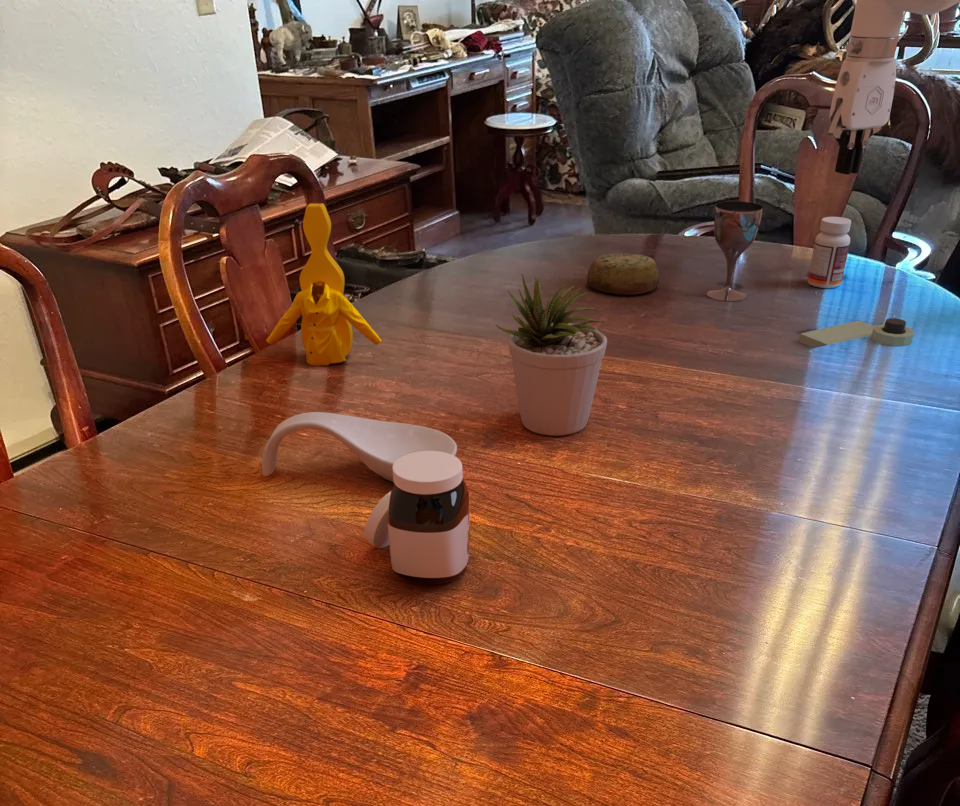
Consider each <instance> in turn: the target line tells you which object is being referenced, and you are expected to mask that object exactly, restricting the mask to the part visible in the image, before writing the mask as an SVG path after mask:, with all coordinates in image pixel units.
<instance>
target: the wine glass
mask: <svg viewBox="0 0 960 806" xmlns="http://www.w3.org/2000/svg"><path fill="white" fill-rule="evenodd" d="M763 209H764V208H763V205H761V204H758V203H754V202H749V201H738V200H737V201H736V200H735V201H734V200H733V201H723V202H722V201H721V202H718V203H717V204H715V209H714V217H713V218H714V219H713V232H714V239H715V242H716V244H717V245H718V248H720V250H721V252H722V254H723V255H724V257H725V259H726V264H727V266H726V269H727V270H726V280H725V281H726V282H725V286H724V287H723V288H714V289H711V290H709V291H707V292H706V296H707V297H708V298H710V299H713V300H717V301H723V302H737V301H742V300H744V299H745V300H746V298H747V294H746V293H745V292H743V291H740V290H738V289H732V288H731V284H732V283H731V282H732V276H733V273H734V268H735V265H736V262H737V261H738V259H739V257H741V255H742V254H743V253H744V252H746V250H747V249H748V248H749V247H751V246H752V244H753V243H754V241H755V239H756V237H757V234H758V232H759V229H760V225H761V220H762V216H763Z"/></svg>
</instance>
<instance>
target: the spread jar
mask: <svg viewBox="0 0 960 806" xmlns="http://www.w3.org/2000/svg"><path fill="white" fill-rule="evenodd" d="M392 469H393V482H392V483H393V485H392V487H391V490H390V491H389V492H388V493H386V494H385V495H384V496H383V497H382V498H381V499H380V500H379V501H378V502H377V504H376V505H375V506H374V508H373V509H372V511H371V513H370V514H369V516H368V518H367V520H366V524H365V526H364V530H363V531H364V533H363V535H364V538H365V541H367V542H368V543H369V544H371V545H372V546H374V547H375V548H377V549H384V548H386V547H388V546H389V555H390V556H389V557H390V564H391V568H392V570H393V572H394V574H396V576H398V577H399V578H401V579H404V580H406V581H408V582H410V583H412V584H413V583H414V584H417V585H422V586H439V585H445V584H448V583H450V582H453V581H455V580H457V579H459V578H461V577H462V575H463V574H464V573H465V572H466V569H467V567H468V565H469V564H468V563H469V557H470V545H471V521H470V519H471V516H470V515H471V514H470V493H469V488H468V485H467V483H466V481H465V479H464V478H463V462H462V461H461V459H460V458H459V457H457V456H456V455H455V456H453V455H451V454H448V453H445V452H439V451H420V452H414V453H410V454H407V455H404V456H402V457H400V458H399V459H397V460H396V461H395V462H394V464H393V466H392Z"/></svg>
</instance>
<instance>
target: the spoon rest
mask: <svg viewBox="0 0 960 806" xmlns="http://www.w3.org/2000/svg"><path fill="white" fill-rule="evenodd" d="M303 430H318V431H321V432H324V433H327V434H328V435H330V436H332V437H334V438H335V439H337V441H339V442H340V443H342V445H344V447H346V448H347V449H348V450H350V451H351V453H353V454H354V456H355V457H357V458H358V459H359V460H360V461H361V462H362V463H363V464H364V465H365V467H367V468H368V469H369V470H371V471H372V472H373V473H375V474H377V475H378V476H380V477H382V478H383V479H385V480H387V481H389V482H391V483H394V482H393V469H392V466H393V464H394V462H395V461H396V460H397V459H399V458H400V457H402V456H404V455H407V454H410V453H414V452H420V451H439V452H445V453H448V454H451V455H453V456H455V457H456V455H457V452H458V446H457V442H456V441H455V440H454V439H453V438H452V437H451V436H449V435H448V434H447V433H445V432H443V431H440V430H438V429H435V428H430V427H429V426H428V427H427V426H423V425H419V424H411V423H404V422H403V423H402V422H397V421H395V422H394V421H387V420H379V419H371V418H366V417H359V416H353V415H348V414H342V413H333V412H326V411H325V412H324V411H312V412H311V411H309V412H302V413H299V414H295V415H292V416H290V417H288V418H286V419H284V420H283V421H281V422H280V423H279V424H278V425H277V426H276V427H275V428H274V430H273V432H272V434H271V436H270V437H269V439H268V441H267V442H266V444H265V446H264V449H263V453H262V459H261V474H262V476H264V477H269V476H271V475H272V474H273V473H274V472H275V470H276V467H277V465H278V462H279V447H280V446H279V445H280V443H281V441H282V440H284V438H285V437H287V436H289V435H290V434H293V433H295V432H298V431H303Z"/></svg>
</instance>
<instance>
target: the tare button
mask: <svg viewBox="0 0 960 806" xmlns="http://www.w3.org/2000/svg"><path fill="white" fill-rule="evenodd" d="M884 324H885V325H884V329H883V331H884V332H887V333H891V334H903V333H904V329H905V327H906V325H907V322H906V320H904V319H901V318H896V317H895V318H894V317H892V318H887V319H885V321H884Z"/></svg>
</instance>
